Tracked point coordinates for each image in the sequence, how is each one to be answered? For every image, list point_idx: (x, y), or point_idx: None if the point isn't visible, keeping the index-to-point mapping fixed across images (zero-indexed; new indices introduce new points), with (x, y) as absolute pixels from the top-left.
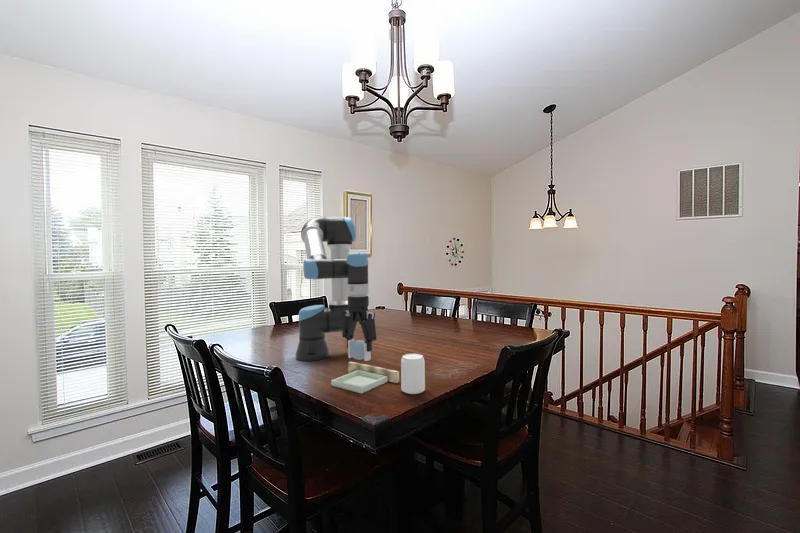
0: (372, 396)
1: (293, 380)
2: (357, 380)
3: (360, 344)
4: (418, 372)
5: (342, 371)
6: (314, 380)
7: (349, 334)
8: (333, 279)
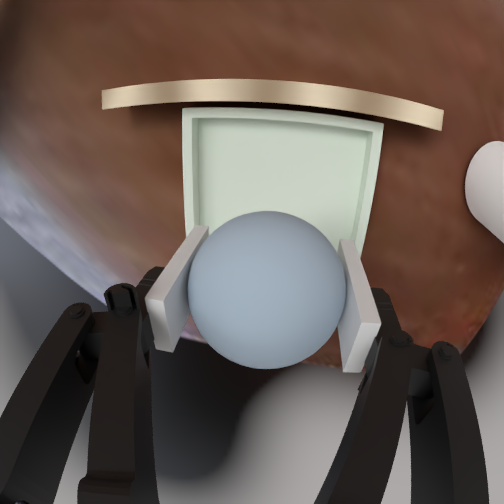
0: (391, 281)
1: (72, 275)
2: (248, 181)
3: (305, 358)
4: None
5: (103, 113)
6: (108, 248)
7: (150, 389)
8: None
